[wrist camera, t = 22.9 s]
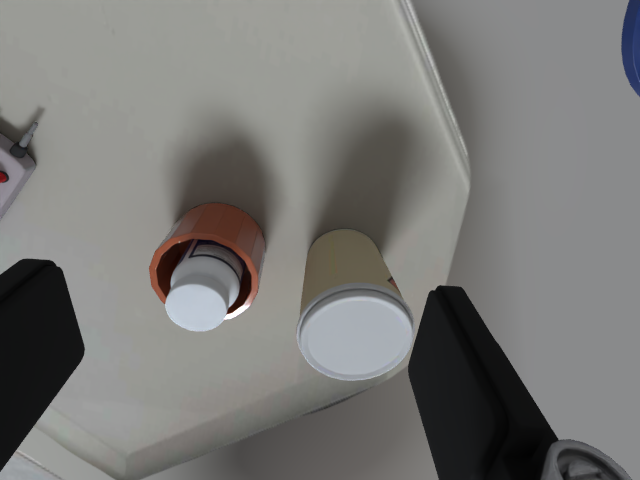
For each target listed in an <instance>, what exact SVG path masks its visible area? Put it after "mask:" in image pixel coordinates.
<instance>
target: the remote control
mask: <svg viewBox="0 0 640 480" xmlns="http://www.w3.org/2000/svg"><path fill="white" fill-rule="evenodd" d="M37 126H38V123H37V122H34V123H33V125H32V126H31V128H30V129H29V131H28V132H26V133H25V134H24V136H23V138H22V139H21V141H20V142H17V143H15V144H14V143H13V142H12V141H10V140H9V139H8V138H6V137H5V136H4V135H2V134H1V133H0V220H1V218H2V217H3V215H4V214H5V212H6V211H7V209H8V208H9V207H10V205H11V204H12V202H13V201H14V199H15V198H16V196H17V195H18V193H19V192H20V190H21V189H22V187H23V186H24V184H25V183H26V181H27V180H28V178H29V177H30V175H31V174H32V172H33V171H34V170H35V168H36V165H35V163H34V161H33V159H32V158H31V157H30V156H29V155H28V154H27V150H28V148H27V144H28V143H29V141H30V139H31V138H32V136H33V132H34V131H35V129H36V128H37Z"/></svg>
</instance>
